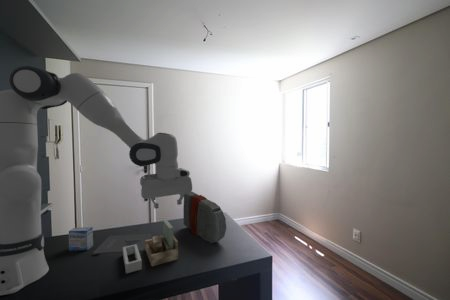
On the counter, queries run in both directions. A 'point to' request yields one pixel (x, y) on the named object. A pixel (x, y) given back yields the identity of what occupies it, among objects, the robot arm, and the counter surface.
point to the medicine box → (80, 238)
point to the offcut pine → (157, 241)
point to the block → (168, 234)
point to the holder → (134, 264)
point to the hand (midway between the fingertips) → (168, 206)
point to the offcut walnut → (157, 249)
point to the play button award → (121, 243)
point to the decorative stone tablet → (204, 217)
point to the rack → (162, 256)
